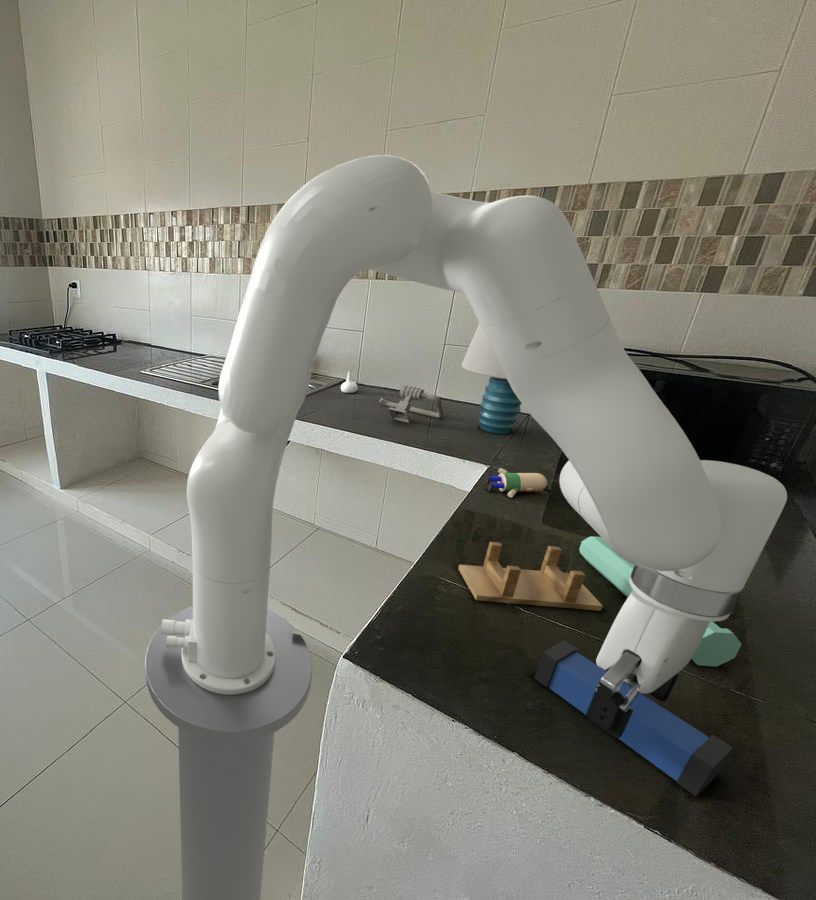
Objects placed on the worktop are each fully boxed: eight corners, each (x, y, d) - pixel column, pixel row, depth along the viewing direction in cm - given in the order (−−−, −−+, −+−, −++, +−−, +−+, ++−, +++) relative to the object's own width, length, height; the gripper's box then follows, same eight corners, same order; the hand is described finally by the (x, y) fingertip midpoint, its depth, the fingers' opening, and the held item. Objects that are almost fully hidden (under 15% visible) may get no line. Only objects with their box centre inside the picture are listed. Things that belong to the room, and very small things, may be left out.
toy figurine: (491, 503, 108) (548, 503, 106) (498, 491, 104) (557, 491, 103) (480, 475, 113) (534, 474, 112) (486, 462, 110) (542, 462, 108)
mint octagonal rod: (586, 524, 84) (714, 624, 61) (615, 537, 84) (752, 641, 61) (564, 550, 86) (679, 657, 63) (592, 563, 86) (717, 673, 63)
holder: (475, 600, 74) (484, 568, 72) (457, 569, 82) (465, 539, 79) (601, 611, 72) (614, 578, 70) (571, 578, 80) (582, 547, 77)
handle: (534, 678, 61) (543, 651, 59) (554, 666, 62) (564, 640, 61) (696, 797, 47) (714, 767, 46) (715, 777, 49) (733, 747, 48)
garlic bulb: (358, 394, 182) (360, 373, 179) (341, 393, 183) (343, 373, 180) (355, 390, 188) (358, 369, 185) (339, 389, 189) (341, 369, 186)
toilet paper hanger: (447, 413, 157) (441, 388, 147) (432, 441, 154) (425, 417, 144) (383, 398, 171) (374, 375, 162) (368, 424, 169) (358, 401, 159)
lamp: (435, 427, 148) (461, 294, 133) (468, 411, 164) (495, 291, 149) (527, 451, 131) (569, 302, 116) (554, 430, 147) (594, 297, 132)
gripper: (676, 542, 54) (627, 657, 61) (591, 587, 47) (546, 713, 53) (770, 579, 48) (704, 703, 55) (689, 638, 41) (624, 773, 47)
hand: (626, 708), depth 54 cm, fingers open, 9 cm apart
